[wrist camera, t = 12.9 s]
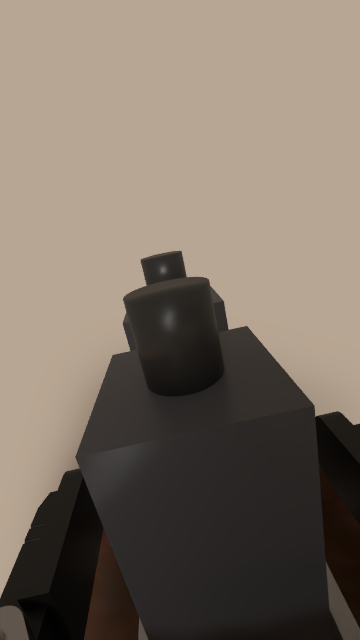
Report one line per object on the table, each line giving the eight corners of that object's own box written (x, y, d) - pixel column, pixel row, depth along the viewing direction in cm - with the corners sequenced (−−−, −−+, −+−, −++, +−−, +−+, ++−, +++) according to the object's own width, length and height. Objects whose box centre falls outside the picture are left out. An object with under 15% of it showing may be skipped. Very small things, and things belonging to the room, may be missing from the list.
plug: (195, 625, 13) (92, 289, 8) (287, 606, 13) (237, 257, 8) (210, 796, 9) (31, 347, 4) (341, 769, 9) (305, 287, 4)
